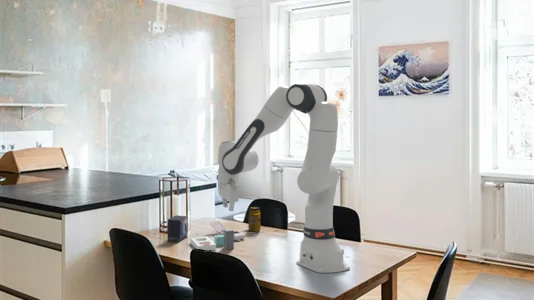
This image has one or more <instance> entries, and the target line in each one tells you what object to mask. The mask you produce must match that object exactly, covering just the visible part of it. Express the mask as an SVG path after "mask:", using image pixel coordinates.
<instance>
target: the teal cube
mask: <svg viewBox="0 0 534 300" xmlns="http://www.w3.org/2000/svg"><path fill="white" fill-rule="evenodd" d="M213 239H214V241H213V242H214V243H215V244H216V247H221V246H223V247H224V235H218V234H216V235H214V237H213Z"/></svg>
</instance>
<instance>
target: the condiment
mask: <svg viewBox="0 0 534 300" xmlns="http://www.w3.org/2000/svg"><path fill="white" fill-rule="evenodd" d="M260 209H261V208H260V207H258V206H250V207H249V210H248V229H245V230H242V231H243V232H244V233H249V234H255V233H261V232H264V230H262V229H261V211H260Z"/></svg>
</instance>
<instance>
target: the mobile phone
mask: <svg viewBox="0 0 534 300" xmlns="http://www.w3.org/2000/svg"><path fill="white" fill-rule="evenodd" d="M208 223H209V225H211V227H212V228H213V230H215V232H217V235H224V229H226V228H225V226H224V225H223V224H222V222H221V221H219V220H213V221H209V222H208ZM233 231H234V230H233ZM245 236H246V235H245V234H244V233H243V232H241V231H237V230H236V231H234V241H236V242H241V240H243V239H246V237H245Z"/></svg>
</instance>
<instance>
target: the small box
mask: <svg viewBox="0 0 534 300" xmlns="http://www.w3.org/2000/svg"><path fill="white" fill-rule="evenodd" d="M187 238H188V215H187V216H186V215H176V214H175V215H174V216H172V217H170V218H168V219H167V242H178V243H180V242H182V241H183V240H184V239H187Z"/></svg>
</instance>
